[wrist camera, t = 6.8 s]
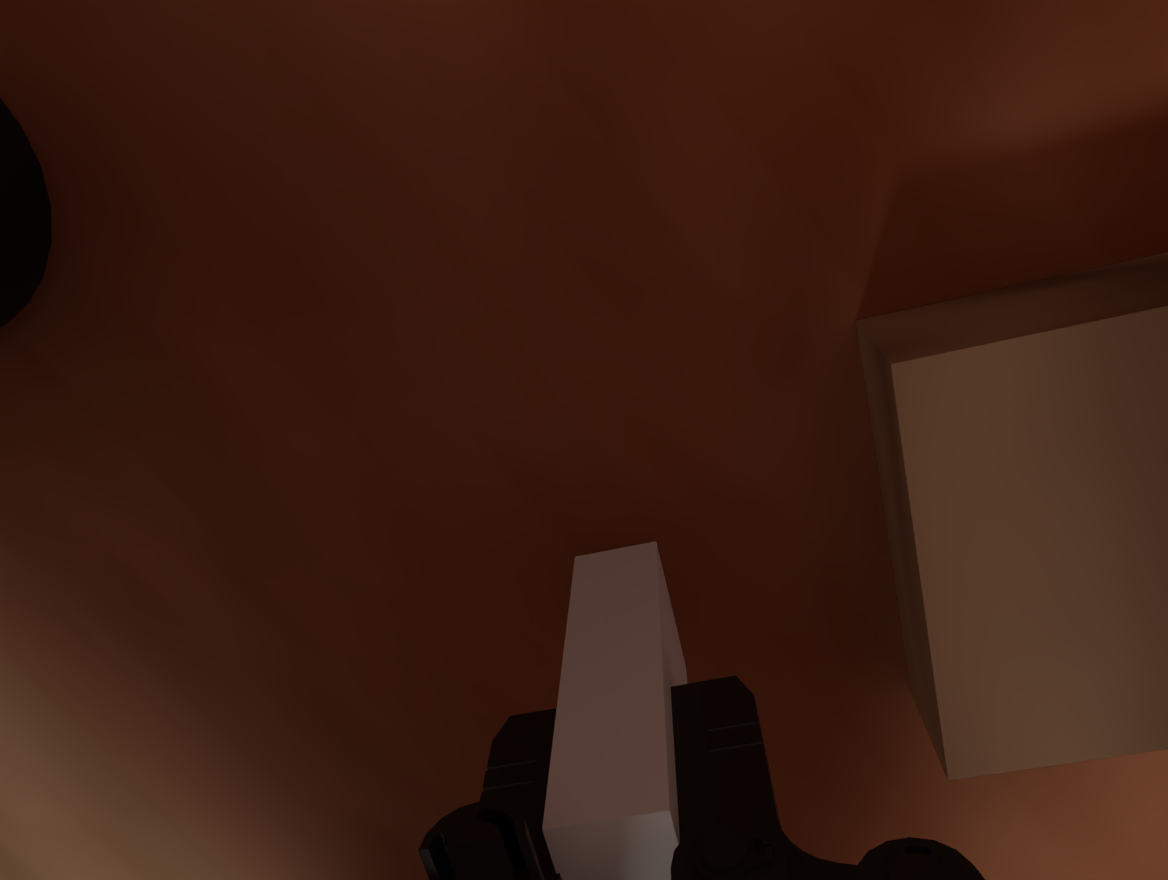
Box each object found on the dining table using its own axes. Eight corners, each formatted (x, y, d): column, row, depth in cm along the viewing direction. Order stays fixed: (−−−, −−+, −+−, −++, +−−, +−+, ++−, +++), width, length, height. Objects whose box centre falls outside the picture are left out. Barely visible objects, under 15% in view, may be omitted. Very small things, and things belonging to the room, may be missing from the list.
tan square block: (905, 679, 20) (948, 780, 17) (850, 314, 17) (891, 364, 14) (1320, 612, 18) (1439, 708, 16) (1334, 208, 16) (1481, 239, 13)
